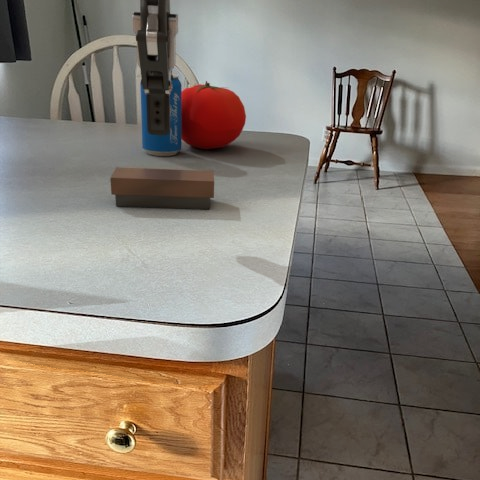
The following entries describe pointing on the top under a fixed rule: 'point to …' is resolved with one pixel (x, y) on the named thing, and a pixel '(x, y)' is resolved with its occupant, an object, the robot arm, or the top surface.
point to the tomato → (210, 116)
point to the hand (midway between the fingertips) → (159, 133)
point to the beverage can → (172, 140)
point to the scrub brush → (162, 188)
